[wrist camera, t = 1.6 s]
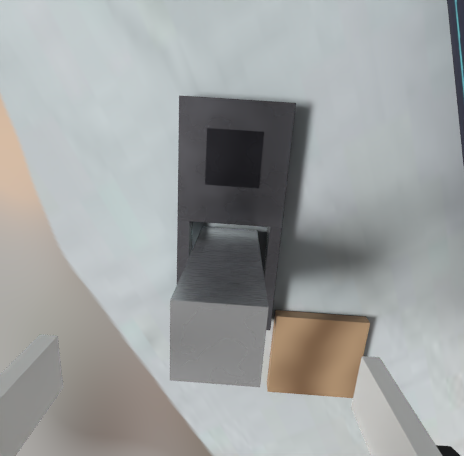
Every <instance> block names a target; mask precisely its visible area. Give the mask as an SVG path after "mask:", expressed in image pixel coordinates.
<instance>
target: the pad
mask: <svg viewBox="0 0 464 456" xmlns="http://www.w3.org/2000/svg"><path fill="white" fill-rule="evenodd" d="M369 326H370V322H369V321H368V319H367V318H366V317H363V316H350V315H336V314H322V313H308V312H295V311H281V310H275V318H274V327H273V335H272V344H271V352H270V361H269V370H268V378H267V389H268V392H281V393H294V394H307V395H320V396H333V397H346V398H353V396H354V391H355V386H356V382H357V377H358V372H359V367H360V363H361V358H362V356H363V354H364V349H365V345H366V340H367V336H368V331H369Z"/></svg>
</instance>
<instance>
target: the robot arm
mask: <svg viewBox="0 0 464 456" xmlns="http://www.w3.org/2000/svg"><path fill="white" fill-rule="evenodd" d="M62 389H63V380H62V371H61V361H60V352H59V343H58V336H56V335H39V336H38V337H37V338H36V339H35V340H34V341H33V342H32V343H31V344H30V345H29V346H28V347H27V348H26V349H25V350H24V351H23V352H22V353H21V354H20V355H19V356H18V357H17V358H16V359H15V360H14V361H13V362H12V363H11V364H10V365H9V366H8V367H7V368H6V369H5V370H4V371H3V372H2V373H1V374H0V456H16V454H17V453H18V452H19V450H20V449H21V447H22V446H23V444H24V443H25V442H26V440H27V439H28V437H29V436H30V434H31V433H32V432H33V430H34V428H35V427H36V426H37V425H38V423H39V422H40V420H41V419H42V417H43V416H44V415H45V413H46V412H47V410H48V409H49V407H50V406H51V405H52V403H53V402H54V400H55V399H56V398H57V396H58V395H59V393H60V392H61V390H62ZM351 409H352V411H353V414H354V416H355V418H356V421H357V423H358V426H359V428H360V430H361V433H362V435H363V438H364V440H365V442H366V445H367V447H368V450H369V452H370V455H371V456H460V455H459V454H458V453H457V452H456V451H455V450H454V449H453V448H452V447H451V446H437V445H435V443H434V442H433V440H432V439H431V437H430V435H429V434H428V432H427V431H426V429H425V428H424V426H423V425H422V423H421V421H420V420H419V418H418V417H417V415H416V414H415V412H414V410H413V409H412V407H411V406H410V404H409V403H408V401H407V400H406V398H405V396H404V395H403V393H402V392H401V390H400V389H399V387H398V385H397V384H396V382H395V381H394V379H393V378H392V376H391V374H390V373H389V371H388V370H387V368H386V367H385V365H384V364H383V362H382V360H381V359H380V357H365V356H362V358H361V363H360V367H359V372H358V377H357V382H356V386H355V391H354V396H353V401H352V405H351Z"/></svg>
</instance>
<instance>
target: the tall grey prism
mask: <svg viewBox="0 0 464 456" xmlns="http://www.w3.org/2000/svg"><path fill="white" fill-rule="evenodd" d="M268 308H269V307H268V300H267V293H266V287H265V280H264V273H263V267H262V260H261V253H260V247H259V240H258V233H257V230H244V229H230V228H215V227H202V229H201V231H200V234H199V236H198V238H197V241H196V243H195V245H194V247H193V250H192V252H191V254H190V257H189V259H188V261H187V264H186V266H185V268H184V270H183V273H182V275H181V277H180V280H179V282H178V284H177V286H176V289H175V291H174V293H173V296H172V298H171V301H170V380H173V381H186V382H199V383H212V384H226V385H239V386H252V387H260V382H261V373H262V363H263V354H264V345H265V336H266V326H267V317H268Z"/></svg>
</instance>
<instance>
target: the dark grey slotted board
mask: <svg viewBox="0 0 464 456" xmlns="http://www.w3.org/2000/svg"><path fill="white" fill-rule="evenodd" d="M295 106H296V103H286V102H270V101H255V100H239V99H223V98H207V97H192V96H179V160H178V238H177V284H178V282H179V280H180V277H181V275H182V273H183V270H184V268H185V266H186V264H187V261H188V259H189V257H190V254H191V252H192V221H193V222H208V223H222V224H237V225H251V226H265V227H268V230H267V240H266V250H265V260H264V270H263V273H264V280H265V287H266V293H267V300H268V307H269V308H268V317H267V326H266V330H270V327H271V319H272V310H273V301H274V292H275V283H276V274H277V265H278V257H279V248H280V239H281V230H282V221H283V212H284V203H285V195H286V186H287V177H288V168H289V159H290V150H291V141H292V132H293V124H294V115H295Z"/></svg>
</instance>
